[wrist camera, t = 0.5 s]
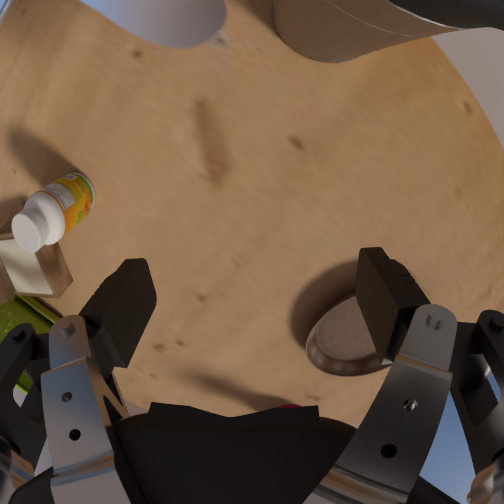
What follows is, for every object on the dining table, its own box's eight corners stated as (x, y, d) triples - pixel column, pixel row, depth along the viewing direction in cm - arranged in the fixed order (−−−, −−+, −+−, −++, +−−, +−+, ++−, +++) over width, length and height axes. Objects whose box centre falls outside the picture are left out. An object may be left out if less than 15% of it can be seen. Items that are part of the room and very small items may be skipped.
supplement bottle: (80, 223, 29) (34, 269, 21) (54, 191, 27) (1, 229, 19) (104, 196, 27) (53, 240, 19) (75, 161, 25) (17, 194, 17)
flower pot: (78, 320, 38) (44, 381, 27) (70, 357, 44) (45, 407, 33) (15, 274, 34) (-27, 325, 24) (16, 319, 41) (-14, 363, 30)
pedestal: (7, 222, 29) (-11, 237, 26) (48, 215, 29) (28, 231, 25) (30, 279, 34) (16, 295, 31) (73, 280, 34) (58, 299, 30)
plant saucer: (387, 365, 41) (391, 379, 39) (288, 358, 40) (289, 375, 37) (443, 282, 32) (453, 296, 30) (330, 260, 31) (336, 276, 28)
